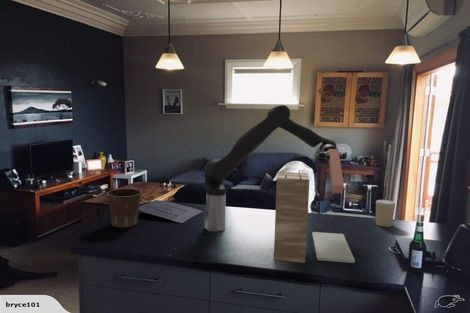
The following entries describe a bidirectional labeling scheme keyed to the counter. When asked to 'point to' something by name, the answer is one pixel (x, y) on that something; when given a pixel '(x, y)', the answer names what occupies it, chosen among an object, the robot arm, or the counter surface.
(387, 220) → the coffee cup
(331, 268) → the counter surface
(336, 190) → the bar
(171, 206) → the papers
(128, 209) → the plant pot
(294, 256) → the stand
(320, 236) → the board
